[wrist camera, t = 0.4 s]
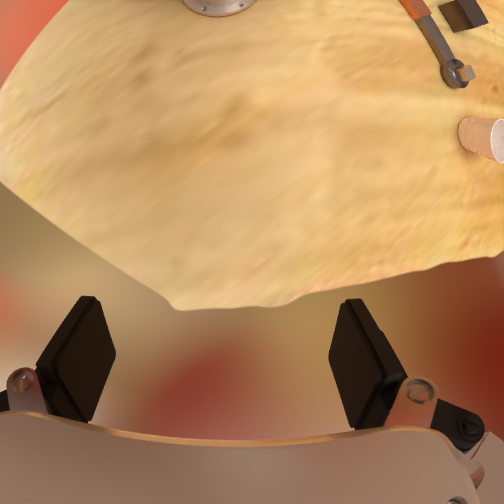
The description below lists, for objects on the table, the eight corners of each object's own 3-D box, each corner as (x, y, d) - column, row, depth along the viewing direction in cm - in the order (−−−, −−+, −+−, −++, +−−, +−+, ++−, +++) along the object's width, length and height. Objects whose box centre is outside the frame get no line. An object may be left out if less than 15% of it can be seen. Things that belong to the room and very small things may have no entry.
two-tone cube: (437, 6, 30) (457, -1, 24) (453, 2, 29) (472, -5, 23) (453, 32, 32) (474, 28, 26) (468, 27, 31) (488, 22, 25)
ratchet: (383, -14, 30) (398, -25, 24) (403, -19, 28) (418, -29, 23) (448, 92, 38) (468, 92, 33) (464, 82, 37) (483, 82, 32)
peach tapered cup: (476, 159, 43) (509, 170, 34) (451, 144, 42) (486, 153, 33) (483, 124, 40) (518, 131, 31) (459, 107, 39) (495, 110, 30)
